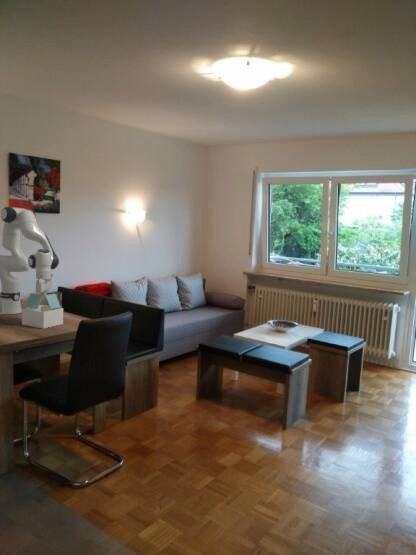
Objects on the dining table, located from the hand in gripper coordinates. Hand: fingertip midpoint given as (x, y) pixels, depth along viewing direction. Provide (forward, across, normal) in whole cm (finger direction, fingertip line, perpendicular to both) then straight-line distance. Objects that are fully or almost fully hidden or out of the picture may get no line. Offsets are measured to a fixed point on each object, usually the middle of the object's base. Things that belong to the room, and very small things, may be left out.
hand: (43, 297), depth 276 cm
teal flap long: (+5, -9, +5) cm, 11 cm away
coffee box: (+16, +22, -1) cm, 27 cm away
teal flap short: (+5, -6, -9) cm, 12 cm away
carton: (+16, -3, -1) cm, 16 cm away
